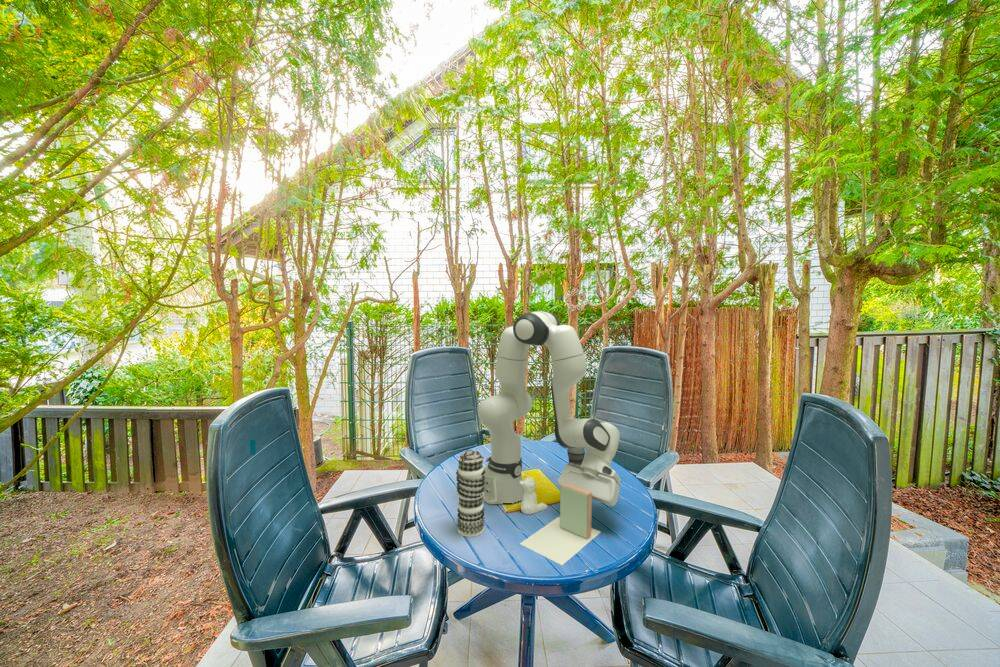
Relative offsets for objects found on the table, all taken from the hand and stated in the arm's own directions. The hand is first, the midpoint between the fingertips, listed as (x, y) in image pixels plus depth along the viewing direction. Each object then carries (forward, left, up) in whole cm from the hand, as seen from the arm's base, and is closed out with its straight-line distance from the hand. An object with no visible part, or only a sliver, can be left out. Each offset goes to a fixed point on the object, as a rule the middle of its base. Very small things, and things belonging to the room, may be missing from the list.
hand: (578, 508), depth 127 cm
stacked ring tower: (-26, -22, -8) cm, 35 cm away
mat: (-2, -7, -7) cm, 11 cm away
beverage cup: (-21, +33, -8) cm, 40 cm away
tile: (0, -2, -7) cm, 7 cm away
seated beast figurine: (-19, 0, -8) cm, 20 cm away
